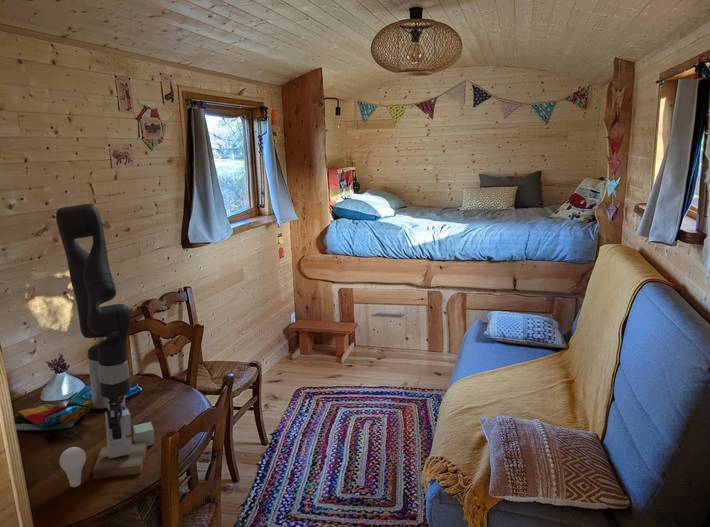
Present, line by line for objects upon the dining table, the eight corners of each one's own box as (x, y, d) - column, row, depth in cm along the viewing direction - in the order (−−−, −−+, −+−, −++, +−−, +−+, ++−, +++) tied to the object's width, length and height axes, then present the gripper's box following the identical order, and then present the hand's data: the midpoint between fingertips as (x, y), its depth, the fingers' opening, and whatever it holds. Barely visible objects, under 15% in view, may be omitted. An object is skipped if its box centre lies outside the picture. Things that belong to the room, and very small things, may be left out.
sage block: (134, 440, 162) (133, 425, 161) (151, 436, 165) (150, 421, 164) (136, 448, 158) (135, 433, 157) (154, 444, 161) (153, 429, 159)
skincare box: (109, 459, 147) (106, 419, 144) (106, 450, 150) (103, 412, 147) (133, 453, 150) (130, 414, 147) (130, 444, 154) (127, 406, 151)
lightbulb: (68, 479, 143) (64, 442, 141) (92, 478, 144) (88, 442, 141) (58, 494, 137) (53, 455, 135) (83, 493, 138) (79, 455, 135)
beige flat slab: (103, 455, 155) (102, 445, 155) (147, 450, 158) (146, 441, 157) (93, 480, 144) (92, 470, 143) (140, 475, 146) (140, 465, 146)
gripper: (104, 367, 151) (108, 421, 155) (93, 389, 137) (99, 449, 141) (132, 364, 153) (136, 419, 156) (125, 387, 139) (130, 445, 143)
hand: (118, 433), depth 149 cm, fingers closed on skincare box, 5 cm apart
